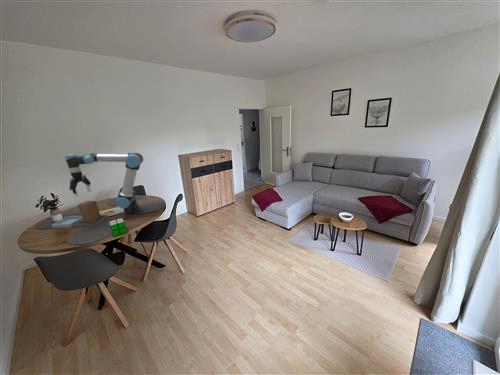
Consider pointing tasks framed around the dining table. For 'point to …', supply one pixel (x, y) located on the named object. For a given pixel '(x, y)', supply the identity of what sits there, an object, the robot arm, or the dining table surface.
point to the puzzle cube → (118, 227)
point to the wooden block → (89, 211)
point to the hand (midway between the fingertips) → (83, 194)
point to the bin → (67, 222)
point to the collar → (92, 223)
